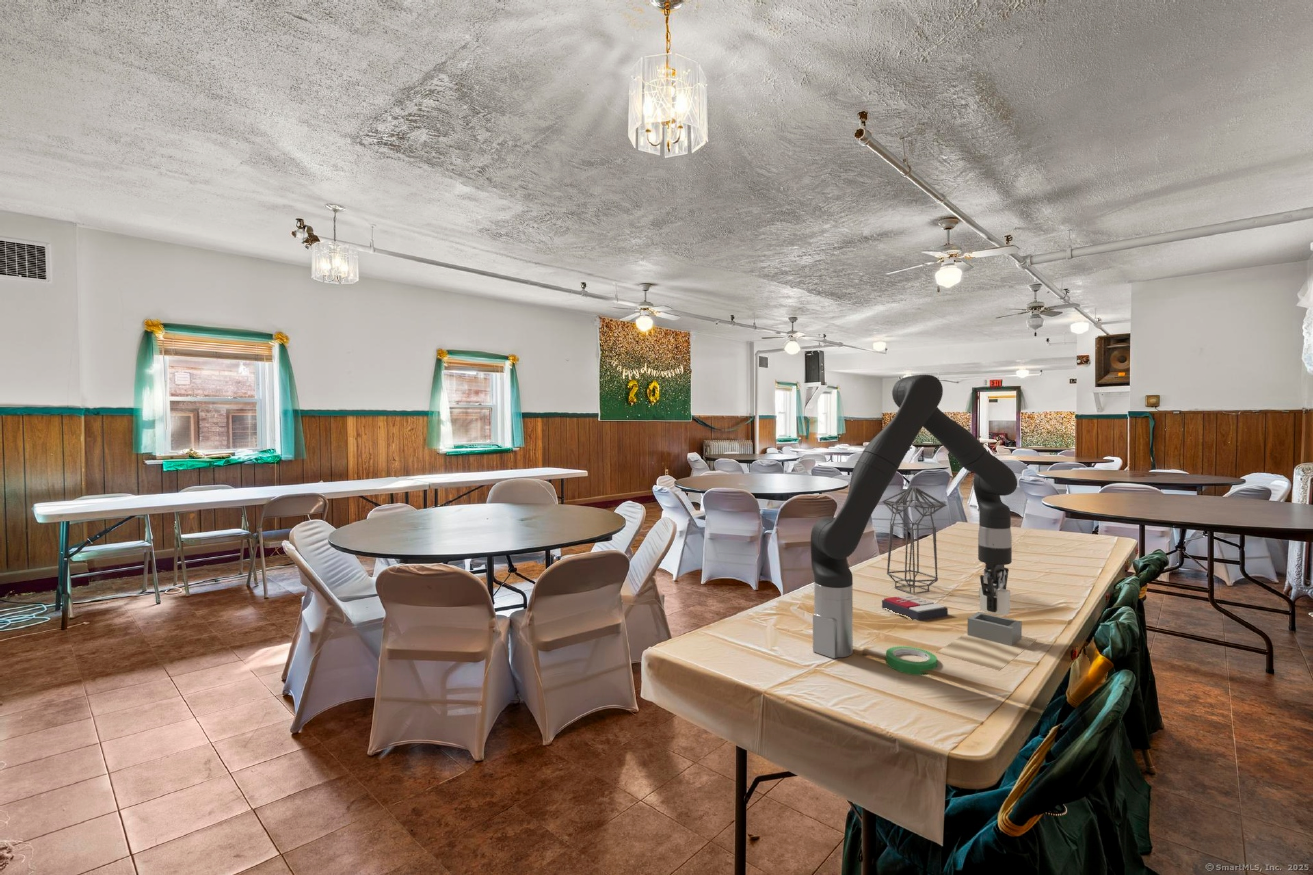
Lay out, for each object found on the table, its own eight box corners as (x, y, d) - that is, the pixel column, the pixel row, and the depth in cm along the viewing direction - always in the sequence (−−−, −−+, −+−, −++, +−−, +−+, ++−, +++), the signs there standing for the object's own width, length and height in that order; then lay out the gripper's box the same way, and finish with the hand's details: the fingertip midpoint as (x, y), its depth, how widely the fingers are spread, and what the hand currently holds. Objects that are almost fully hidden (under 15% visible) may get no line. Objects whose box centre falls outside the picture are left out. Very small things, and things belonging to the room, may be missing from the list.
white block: (1005, 616, 148) (1005, 592, 147) (978, 610, 152) (978, 587, 152) (1009, 613, 150) (1009, 590, 149) (983, 607, 154) (983, 585, 154)
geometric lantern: (877, 585, 202) (878, 485, 201) (914, 582, 206) (915, 484, 206) (910, 598, 187) (911, 490, 186) (949, 594, 191) (950, 488, 191)
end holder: (1011, 646, 145) (1011, 628, 145) (967, 635, 153) (967, 618, 152) (1021, 638, 150) (1021, 621, 150) (978, 628, 157) (978, 611, 157)
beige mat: (999, 674, 131) (999, 670, 131) (936, 656, 142) (936, 652, 142) (1036, 643, 149) (1036, 639, 149) (978, 628, 160) (978, 625, 160)
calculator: (909, 593, 182) (948, 605, 168) (909, 607, 182) (948, 620, 167) (881, 597, 178) (918, 610, 164) (881, 611, 178) (919, 625, 164)
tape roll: (894, 652, 145) (894, 642, 145) (942, 664, 138) (942, 653, 138) (879, 667, 137) (879, 656, 136) (929, 680, 130) (929, 668, 129)
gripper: (1001, 550, 143) (1000, 619, 143) (1020, 541, 152) (1019, 606, 153) (968, 545, 148) (968, 612, 149) (988, 537, 158) (988, 600, 158)
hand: (994, 609), depth 151 cm, fingers closed on white block, 3 cm apart
